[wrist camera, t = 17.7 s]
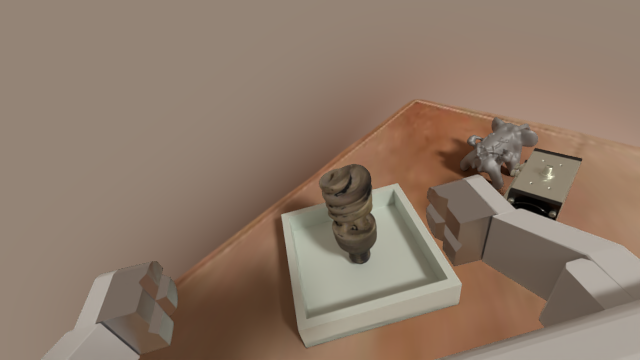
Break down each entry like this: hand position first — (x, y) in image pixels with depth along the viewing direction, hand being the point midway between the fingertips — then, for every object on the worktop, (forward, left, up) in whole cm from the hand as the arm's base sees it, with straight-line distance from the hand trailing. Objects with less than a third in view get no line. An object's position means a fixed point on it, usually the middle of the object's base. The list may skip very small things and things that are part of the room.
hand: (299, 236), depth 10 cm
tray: (+5, +20, -29) cm, 36 cm away
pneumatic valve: (+26, +17, -30) cm, 43 cm away
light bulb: (+5, +20, -29) cm, 35 cm away
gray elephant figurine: (+32, +31, -30) cm, 53 cm away
